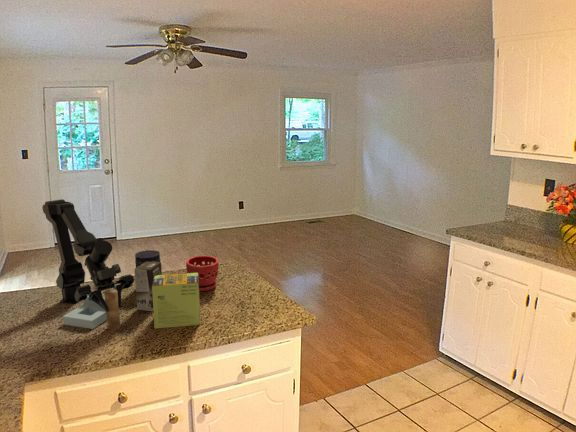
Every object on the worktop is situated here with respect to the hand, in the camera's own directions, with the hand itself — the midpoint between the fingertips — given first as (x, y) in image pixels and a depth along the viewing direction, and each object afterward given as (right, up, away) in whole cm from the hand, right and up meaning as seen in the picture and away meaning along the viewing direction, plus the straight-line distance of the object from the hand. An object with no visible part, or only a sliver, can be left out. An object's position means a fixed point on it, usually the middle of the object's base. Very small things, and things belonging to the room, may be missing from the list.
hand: (114, 309), depth 148 cm
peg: (-1, -7, +3) cm, 7 cm away
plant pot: (+23, +1, +38) cm, 44 cm away
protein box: (+19, -6, +8) cm, 22 cm away
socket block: (-12, -5, +9) cm, 15 cm away
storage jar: (+1, +1, +37) cm, 37 cm away
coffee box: (+6, -3, +20) cm, 21 cm away
